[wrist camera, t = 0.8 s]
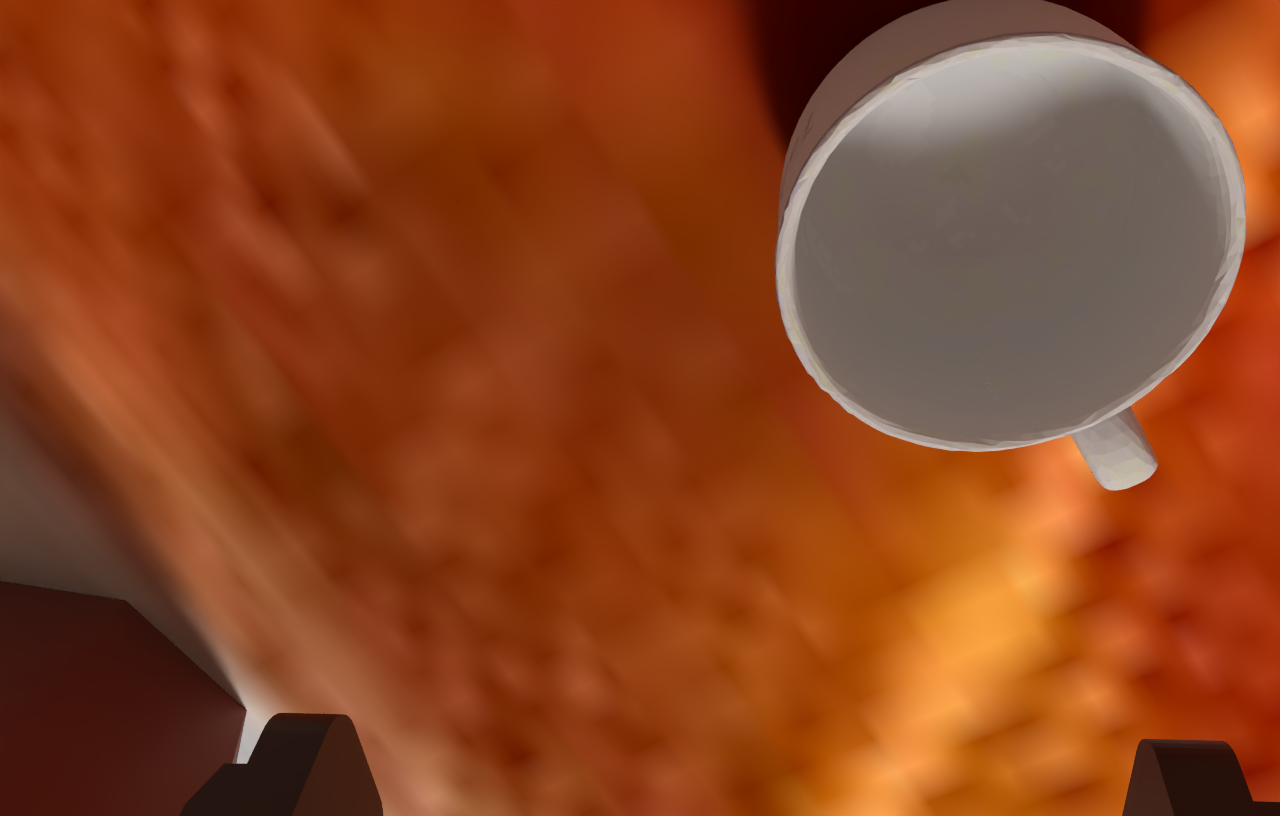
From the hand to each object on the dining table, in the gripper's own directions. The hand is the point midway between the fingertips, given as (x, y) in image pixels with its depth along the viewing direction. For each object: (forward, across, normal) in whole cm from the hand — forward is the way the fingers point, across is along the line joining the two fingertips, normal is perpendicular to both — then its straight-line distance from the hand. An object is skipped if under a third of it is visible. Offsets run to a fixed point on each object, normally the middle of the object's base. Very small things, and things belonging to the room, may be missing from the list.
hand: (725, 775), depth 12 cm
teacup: (+25, -6, +5) cm, 27 cm away
